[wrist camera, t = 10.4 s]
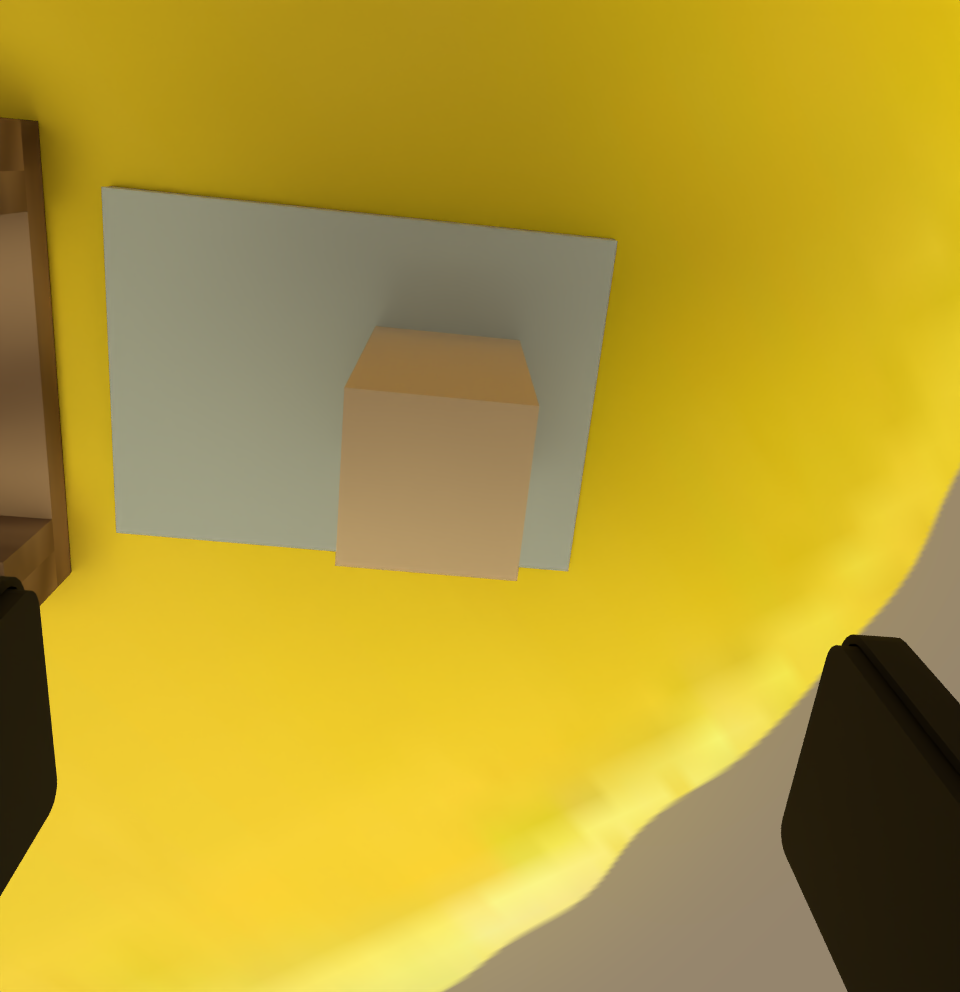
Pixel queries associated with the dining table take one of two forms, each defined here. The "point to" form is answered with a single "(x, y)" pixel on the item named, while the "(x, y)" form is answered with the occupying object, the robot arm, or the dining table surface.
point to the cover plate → (296, 342)
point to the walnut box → (28, 377)
